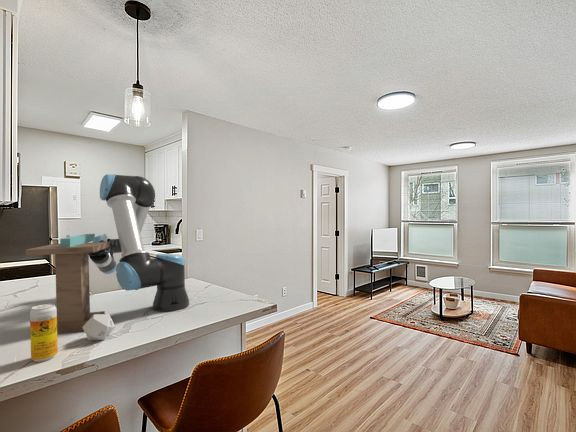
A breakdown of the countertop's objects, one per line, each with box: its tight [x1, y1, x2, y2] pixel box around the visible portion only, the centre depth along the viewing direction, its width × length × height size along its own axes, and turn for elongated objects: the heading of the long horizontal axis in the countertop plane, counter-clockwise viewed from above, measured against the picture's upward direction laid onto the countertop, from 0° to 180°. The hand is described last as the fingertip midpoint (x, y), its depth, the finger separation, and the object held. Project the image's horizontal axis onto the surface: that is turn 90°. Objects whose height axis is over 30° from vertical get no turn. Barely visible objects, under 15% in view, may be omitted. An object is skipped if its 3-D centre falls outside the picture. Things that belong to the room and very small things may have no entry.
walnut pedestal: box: [25, 241, 110, 335], centre depth 116 cm, size 20×20×30 cm
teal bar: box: [59, 233, 96, 247], centre depth 122 cm, size 26×3×3 cm, turn 15°
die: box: [82, 313, 116, 341], centre depth 103 cm, size 8×9×10 cm
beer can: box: [29, 303, 59, 363], centre depth 90 cm, size 6×6×15 cm
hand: (85, 237), depth 130 cm, fingers open, 13 cm apart
